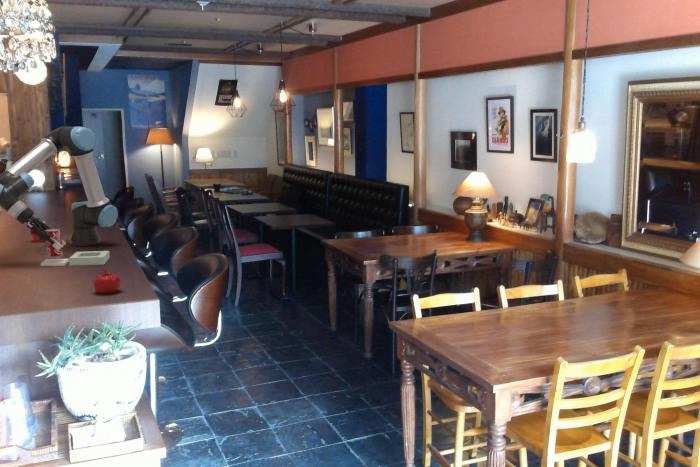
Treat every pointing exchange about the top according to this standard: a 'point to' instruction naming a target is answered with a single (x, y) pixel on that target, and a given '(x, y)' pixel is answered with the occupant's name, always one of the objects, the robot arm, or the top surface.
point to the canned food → (36, 236)
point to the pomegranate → (107, 282)
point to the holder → (89, 258)
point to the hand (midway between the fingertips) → (62, 246)
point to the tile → (54, 262)
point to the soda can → (50, 250)
